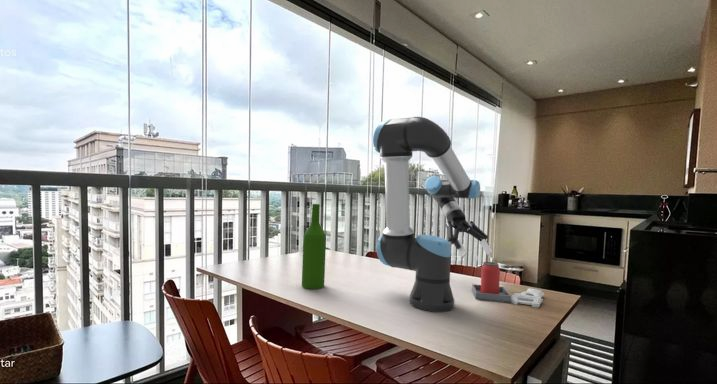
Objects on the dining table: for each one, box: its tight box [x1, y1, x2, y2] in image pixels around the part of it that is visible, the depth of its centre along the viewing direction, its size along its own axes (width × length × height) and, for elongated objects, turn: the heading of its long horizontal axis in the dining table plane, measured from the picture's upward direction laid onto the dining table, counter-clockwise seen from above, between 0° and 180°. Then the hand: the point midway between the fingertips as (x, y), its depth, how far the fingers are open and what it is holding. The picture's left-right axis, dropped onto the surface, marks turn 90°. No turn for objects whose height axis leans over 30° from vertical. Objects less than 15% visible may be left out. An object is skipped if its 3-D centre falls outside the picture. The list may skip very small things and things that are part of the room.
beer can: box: [480, 261, 501, 294], centre depth 130 cm, size 7×7×12 cm
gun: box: [510, 288, 545, 308], centre depth 127 cm, size 18×4×10 cm
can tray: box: [471, 283, 512, 304], centre depth 130 cm, size 12×12×2 cm
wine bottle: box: [301, 203, 327, 290], centre depth 135 cm, size 9×9×32 cm
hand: (477, 254), depth 137 cm, fingers open, 13 cm apart
